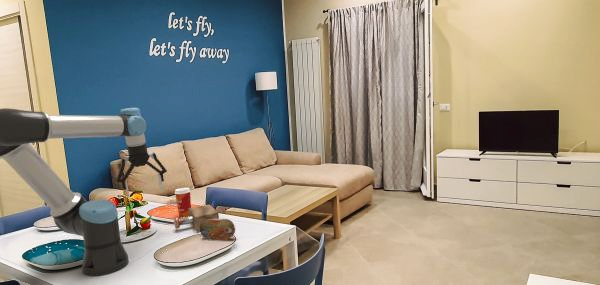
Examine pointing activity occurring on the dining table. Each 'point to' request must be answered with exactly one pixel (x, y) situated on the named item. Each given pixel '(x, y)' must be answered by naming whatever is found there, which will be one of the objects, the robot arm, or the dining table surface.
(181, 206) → the paper cup
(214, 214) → the hitch block
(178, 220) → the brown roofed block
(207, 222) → the mottled brown rounded block
